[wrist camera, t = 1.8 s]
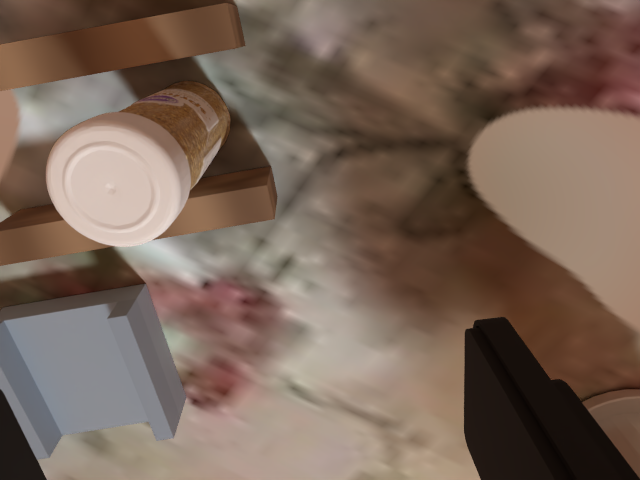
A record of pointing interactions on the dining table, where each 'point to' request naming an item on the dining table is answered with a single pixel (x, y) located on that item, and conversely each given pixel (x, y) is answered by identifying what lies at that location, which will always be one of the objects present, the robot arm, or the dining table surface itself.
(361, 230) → the dining table surface
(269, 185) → the channel
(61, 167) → the sprinkles bottle
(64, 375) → the cradle
